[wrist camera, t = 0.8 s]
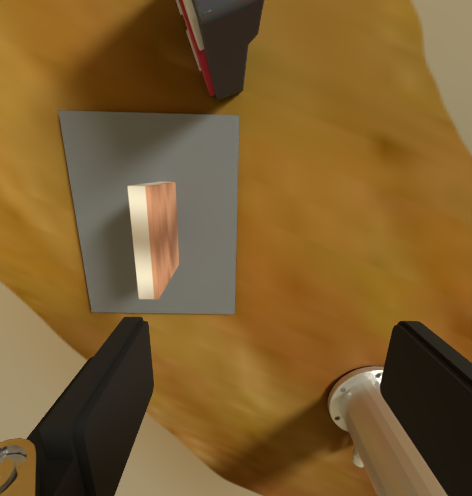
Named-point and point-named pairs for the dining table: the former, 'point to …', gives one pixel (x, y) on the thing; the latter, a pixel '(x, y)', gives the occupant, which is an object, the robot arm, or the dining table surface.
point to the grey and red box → (221, 40)
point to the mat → (187, 201)
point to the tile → (154, 236)
